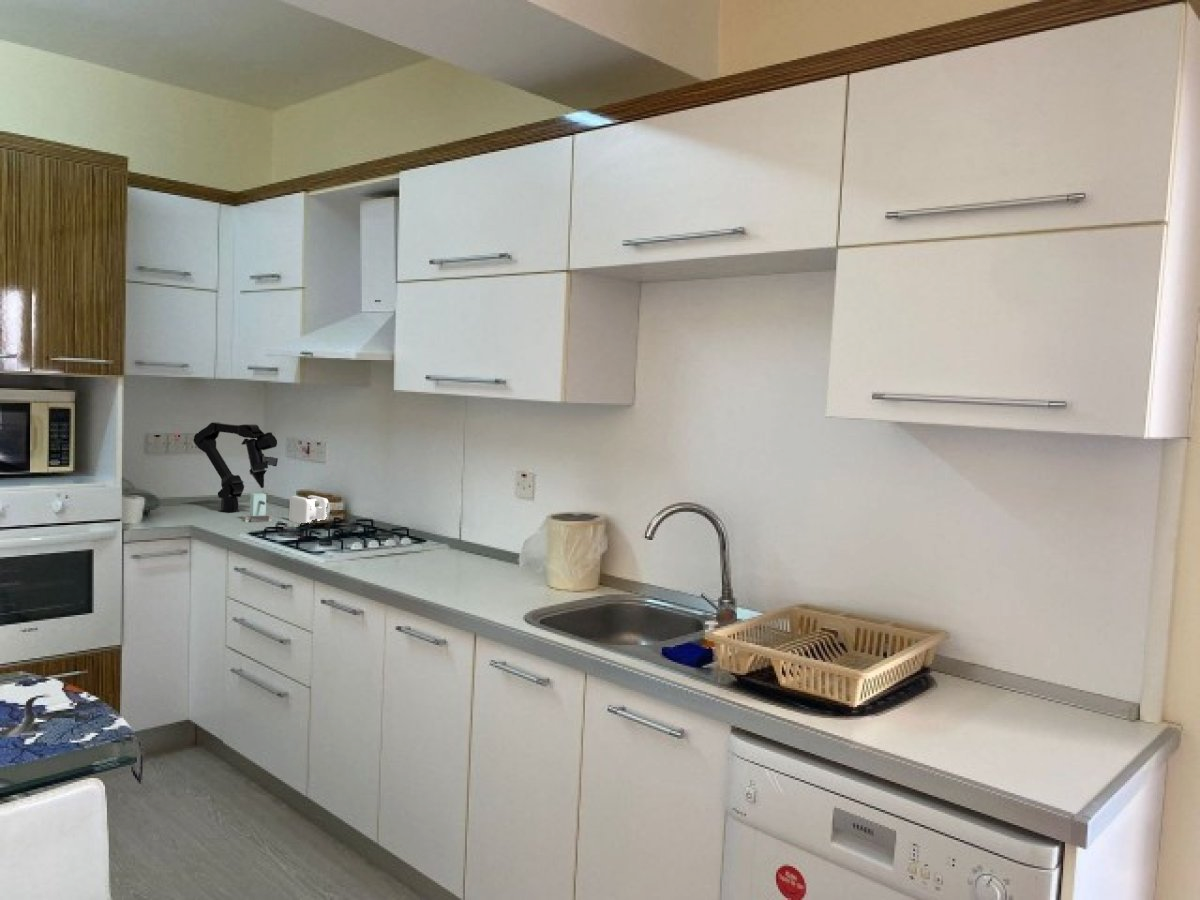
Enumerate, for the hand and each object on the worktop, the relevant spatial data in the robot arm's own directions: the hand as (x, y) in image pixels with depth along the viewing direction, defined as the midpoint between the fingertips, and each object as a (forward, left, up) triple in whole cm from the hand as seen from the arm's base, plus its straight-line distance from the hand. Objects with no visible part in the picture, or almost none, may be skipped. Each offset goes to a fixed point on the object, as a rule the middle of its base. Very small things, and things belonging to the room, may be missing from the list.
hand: (262, 487), depth 380 cm
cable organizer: (+31, -8, -12) cm, 34 cm away
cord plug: (+18, -21, -11) cm, 29 cm away
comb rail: (+12, -17, -12) cm, 24 cm away
